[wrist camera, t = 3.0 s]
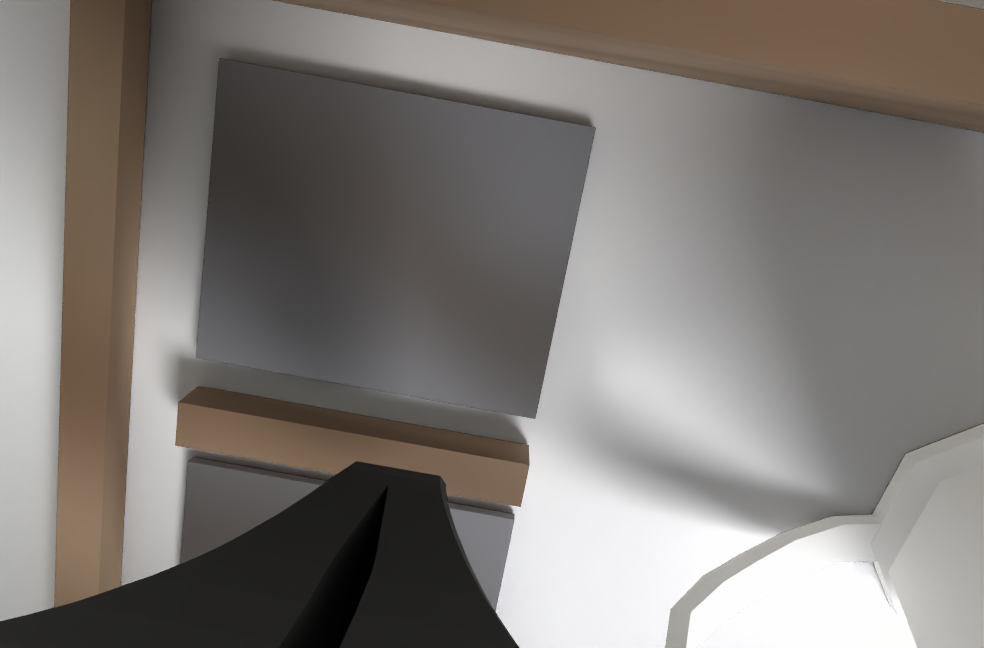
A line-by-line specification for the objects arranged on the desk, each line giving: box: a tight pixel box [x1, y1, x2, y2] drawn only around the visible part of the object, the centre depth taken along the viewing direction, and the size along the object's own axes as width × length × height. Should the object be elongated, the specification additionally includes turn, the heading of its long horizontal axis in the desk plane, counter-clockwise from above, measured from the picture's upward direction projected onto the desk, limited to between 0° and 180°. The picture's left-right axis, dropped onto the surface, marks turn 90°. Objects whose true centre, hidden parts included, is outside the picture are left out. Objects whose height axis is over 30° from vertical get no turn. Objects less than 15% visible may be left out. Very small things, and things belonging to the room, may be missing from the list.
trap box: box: [54, 0, 984, 611], centre depth 12 cm, size 16×30×3 cm, turn 80°
